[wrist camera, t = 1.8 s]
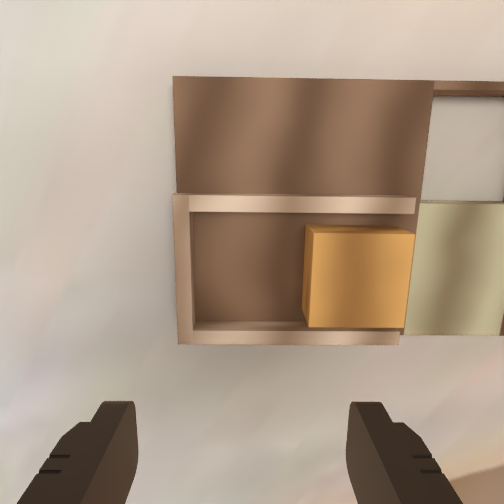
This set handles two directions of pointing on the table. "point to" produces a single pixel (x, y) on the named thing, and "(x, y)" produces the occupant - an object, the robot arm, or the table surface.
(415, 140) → the compartment board
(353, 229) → the ochre block
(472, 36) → the table surface
